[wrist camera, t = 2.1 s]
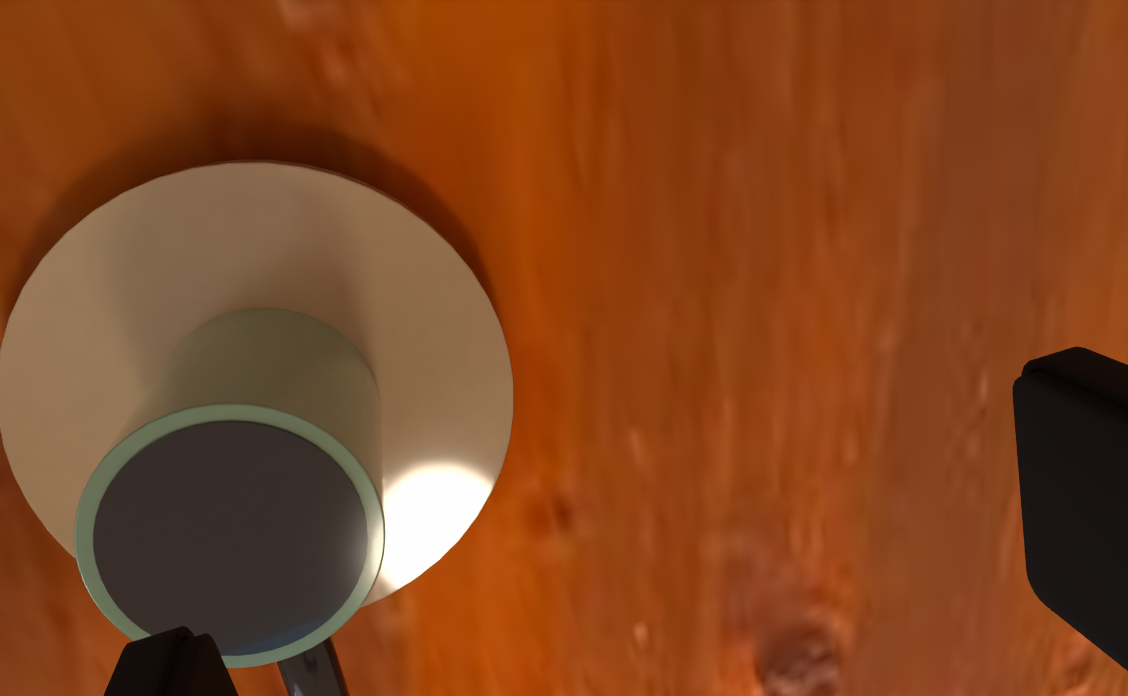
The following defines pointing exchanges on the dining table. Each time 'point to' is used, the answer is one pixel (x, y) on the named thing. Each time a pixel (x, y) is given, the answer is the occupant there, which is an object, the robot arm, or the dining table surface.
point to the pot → (254, 406)
